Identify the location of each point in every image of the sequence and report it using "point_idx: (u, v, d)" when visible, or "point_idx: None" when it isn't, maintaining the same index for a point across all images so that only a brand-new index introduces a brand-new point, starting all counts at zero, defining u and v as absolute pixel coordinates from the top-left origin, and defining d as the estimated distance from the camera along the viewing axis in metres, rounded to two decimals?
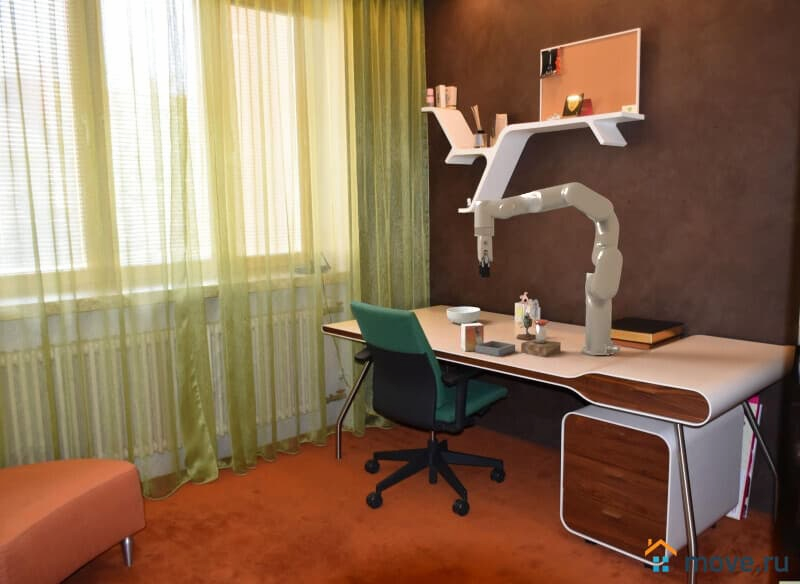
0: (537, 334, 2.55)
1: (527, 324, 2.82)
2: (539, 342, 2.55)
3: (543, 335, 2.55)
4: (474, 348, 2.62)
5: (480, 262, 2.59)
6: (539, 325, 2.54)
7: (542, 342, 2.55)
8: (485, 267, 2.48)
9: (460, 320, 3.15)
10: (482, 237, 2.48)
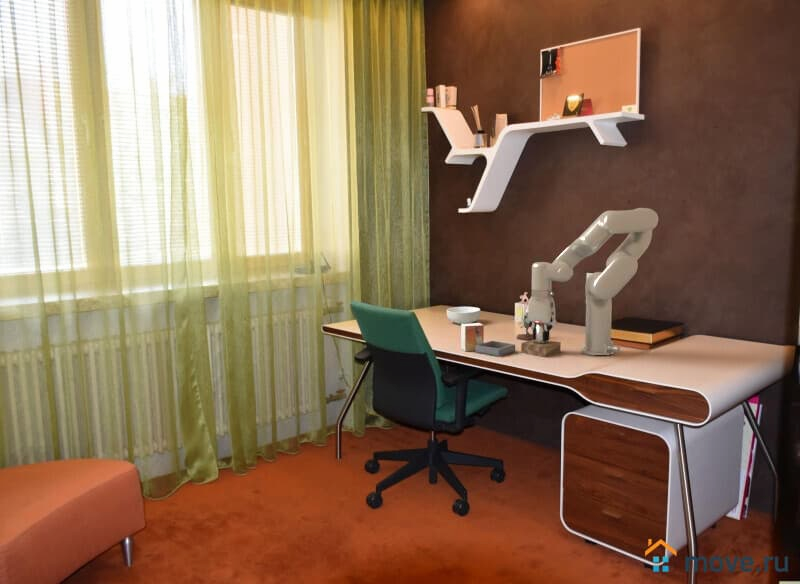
0: (537, 334, 2.55)
1: (527, 324, 2.82)
2: (539, 342, 2.55)
3: None
4: (474, 348, 2.62)
5: (534, 326, 2.57)
6: (539, 325, 2.54)
7: (542, 342, 2.55)
8: (548, 331, 2.54)
9: (460, 320, 3.15)
10: (549, 299, 2.51)
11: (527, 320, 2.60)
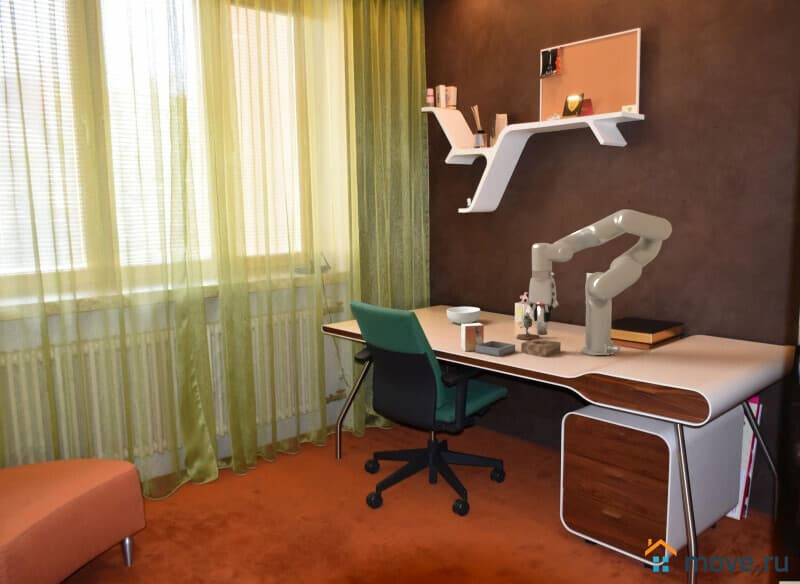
0: (538, 315, 2.54)
1: (527, 324, 2.82)
2: (540, 323, 2.54)
3: None
4: (474, 348, 2.62)
5: (535, 307, 2.56)
6: (540, 306, 2.53)
7: (543, 323, 2.54)
8: (549, 312, 2.53)
9: (460, 320, 3.15)
10: (550, 280, 2.50)
11: (528, 302, 2.58)
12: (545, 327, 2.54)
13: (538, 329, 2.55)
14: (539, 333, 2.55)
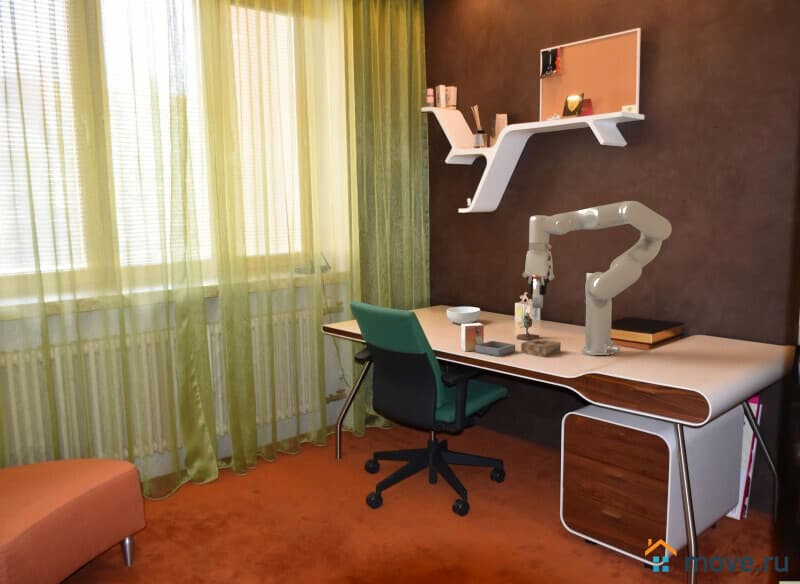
0: (534, 288, 2.53)
1: (527, 324, 2.82)
2: (536, 296, 2.53)
3: None
4: (474, 348, 2.62)
5: (531, 280, 2.55)
6: (536, 279, 2.52)
7: (539, 296, 2.53)
8: (545, 285, 2.51)
9: (460, 320, 3.15)
10: (546, 253, 2.48)
11: (524, 275, 2.57)
12: (540, 300, 2.53)
13: (533, 302, 2.54)
14: (534, 306, 2.54)
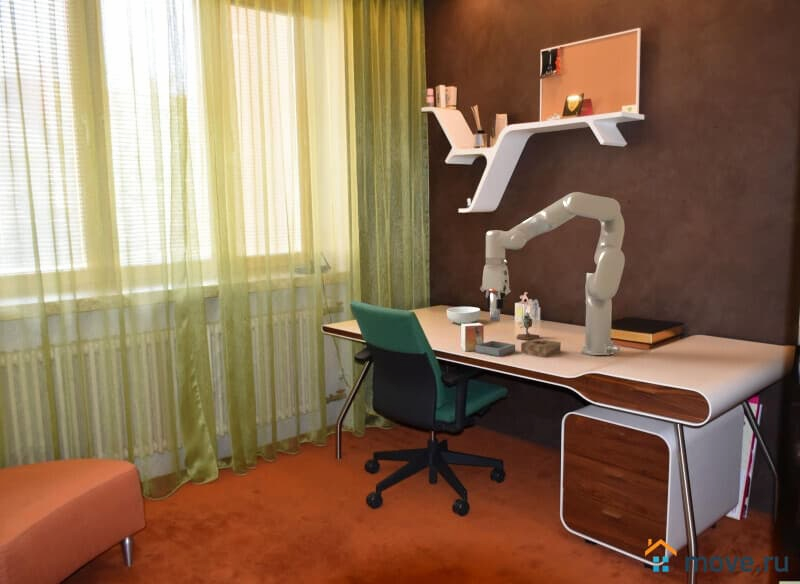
0: (491, 302, 2.55)
1: (527, 324, 2.82)
2: (493, 310, 2.55)
3: (496, 303, 2.55)
4: (474, 348, 2.62)
5: (488, 294, 2.57)
6: (493, 293, 2.55)
7: (496, 310, 2.55)
8: (501, 299, 2.54)
9: (460, 320, 3.15)
10: (502, 267, 2.51)
11: (482, 289, 2.60)
12: (497, 314, 2.56)
13: (491, 316, 2.56)
14: (491, 320, 2.56)
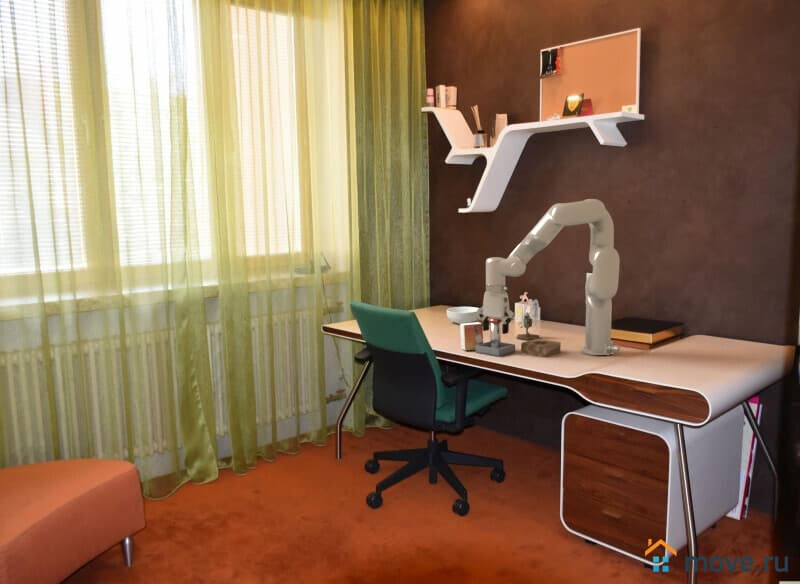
0: (492, 332, 2.57)
1: (527, 324, 2.82)
2: (493, 340, 2.57)
3: (497, 333, 2.57)
4: (474, 347, 2.62)
5: (484, 318, 2.60)
6: (493, 323, 2.56)
7: (496, 340, 2.57)
8: (507, 324, 2.54)
9: (460, 320, 3.15)
10: (502, 294, 2.52)
11: (479, 311, 2.62)
12: (498, 344, 2.57)
13: (491, 346, 2.58)
14: None
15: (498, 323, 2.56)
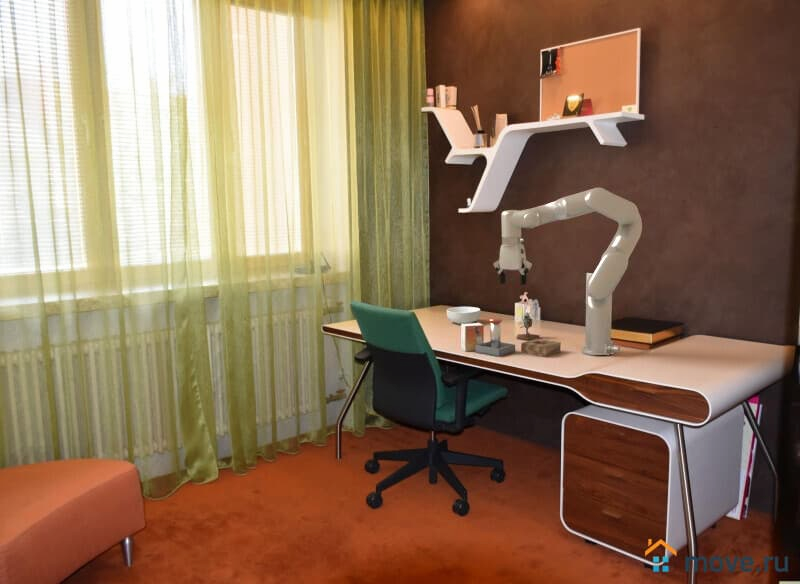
0: (492, 332, 2.57)
1: (527, 324, 2.82)
2: (493, 340, 2.57)
3: (497, 333, 2.56)
4: (474, 348, 2.62)
5: (501, 272, 2.63)
6: (493, 323, 2.56)
7: (496, 340, 2.57)
8: (525, 274, 2.56)
9: (460, 320, 3.15)
10: (519, 246, 2.55)
11: (495, 264, 2.65)
12: (498, 344, 2.57)
13: (491, 346, 2.58)
14: None
15: (498, 323, 2.56)
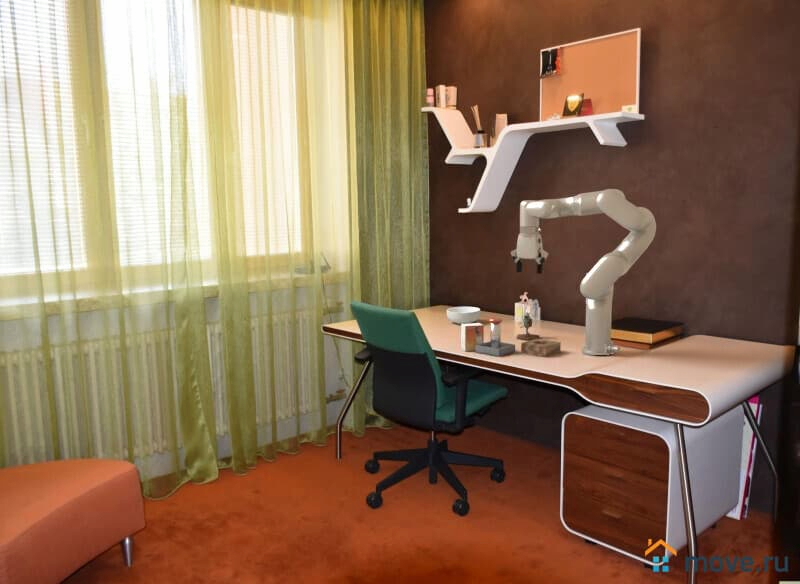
0: (492, 332, 2.57)
1: (527, 324, 2.82)
2: (493, 340, 2.57)
3: (497, 333, 2.56)
4: (474, 348, 2.62)
5: (518, 260, 2.68)
6: (493, 323, 2.56)
7: (496, 340, 2.57)
8: (541, 264, 2.62)
9: (460, 320, 3.15)
10: (536, 235, 2.61)
11: (512, 253, 2.71)
12: (498, 344, 2.57)
13: (491, 346, 2.58)
14: None
15: (498, 323, 2.56)
